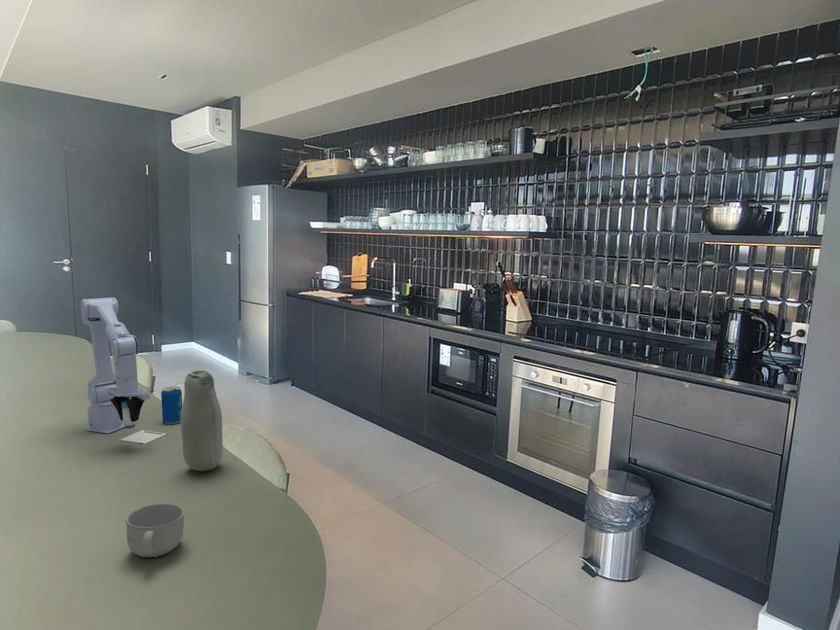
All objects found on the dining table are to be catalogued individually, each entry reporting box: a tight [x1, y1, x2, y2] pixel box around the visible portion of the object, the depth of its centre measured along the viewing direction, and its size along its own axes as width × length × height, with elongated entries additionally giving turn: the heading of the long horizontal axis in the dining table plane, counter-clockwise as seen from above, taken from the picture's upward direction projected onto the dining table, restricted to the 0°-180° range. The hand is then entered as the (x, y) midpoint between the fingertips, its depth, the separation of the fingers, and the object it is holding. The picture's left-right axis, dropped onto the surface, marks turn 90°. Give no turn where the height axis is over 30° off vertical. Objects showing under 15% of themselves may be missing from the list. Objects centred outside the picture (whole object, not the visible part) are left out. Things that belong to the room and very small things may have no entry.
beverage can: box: [160, 386, 183, 425], centre depth 188 cm, size 6×6×12 cm
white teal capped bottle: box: [121, 400, 137, 429], centre depth 164 cm, size 4×4×8 cm
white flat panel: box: [120, 429, 167, 445], centre depth 174 cm, size 10×9×1 cm
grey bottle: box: [180, 370, 224, 472], centre depth 149 cm, size 10×10×28 cm
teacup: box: [125, 502, 185, 558], centre depth 110 cm, size 14×11×8 cm
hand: (129, 420), depth 164 cm, fingers closed on white teal capped bottle, 3 cm apart
